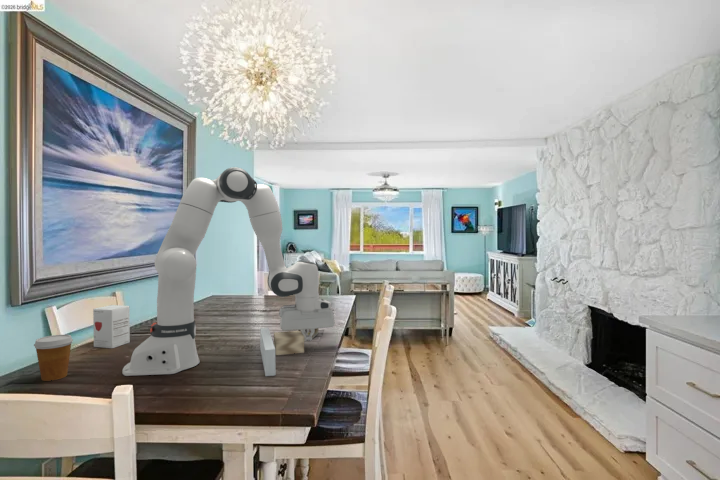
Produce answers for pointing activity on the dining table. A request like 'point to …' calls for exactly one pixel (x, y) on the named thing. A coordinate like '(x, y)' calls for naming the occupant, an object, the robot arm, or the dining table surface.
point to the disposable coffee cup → (53, 356)
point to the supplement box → (111, 326)
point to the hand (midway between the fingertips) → (307, 340)
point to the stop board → (267, 352)
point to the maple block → (288, 342)
